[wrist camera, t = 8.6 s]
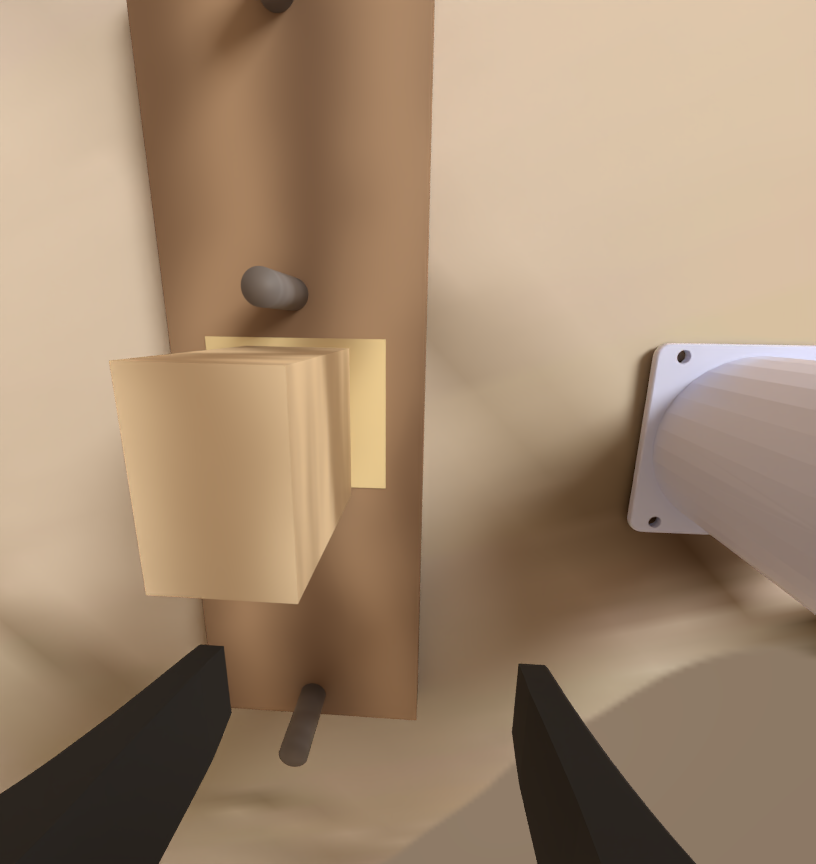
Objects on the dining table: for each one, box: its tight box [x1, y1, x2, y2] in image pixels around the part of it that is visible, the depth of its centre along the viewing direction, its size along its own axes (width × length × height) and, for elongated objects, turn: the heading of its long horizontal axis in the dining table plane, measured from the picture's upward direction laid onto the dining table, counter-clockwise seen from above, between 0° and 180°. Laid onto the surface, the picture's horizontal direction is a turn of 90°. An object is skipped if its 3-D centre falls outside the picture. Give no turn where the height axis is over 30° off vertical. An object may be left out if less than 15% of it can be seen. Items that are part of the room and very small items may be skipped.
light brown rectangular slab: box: [109, 346, 351, 604], centre depth 13 cm, size 4×6×7 cm
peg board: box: [127, 0, 435, 767], centre depth 16 cm, size 10×30×4 cm, turn 179°
